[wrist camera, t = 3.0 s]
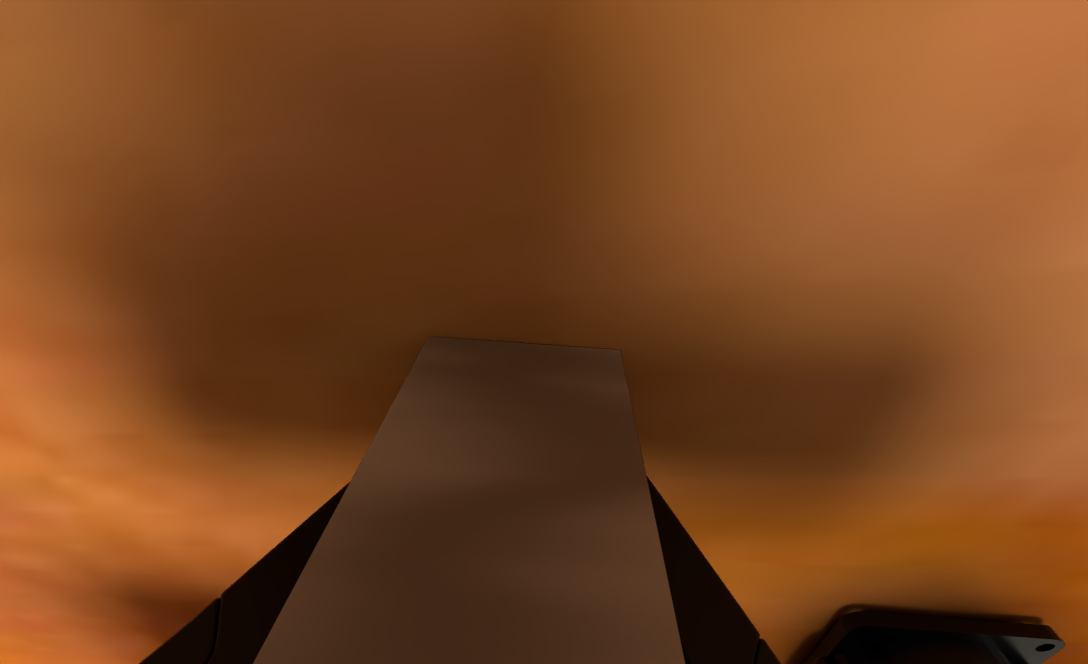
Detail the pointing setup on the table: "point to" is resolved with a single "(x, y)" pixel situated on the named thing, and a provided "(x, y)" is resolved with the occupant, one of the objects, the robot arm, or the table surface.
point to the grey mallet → (491, 523)
